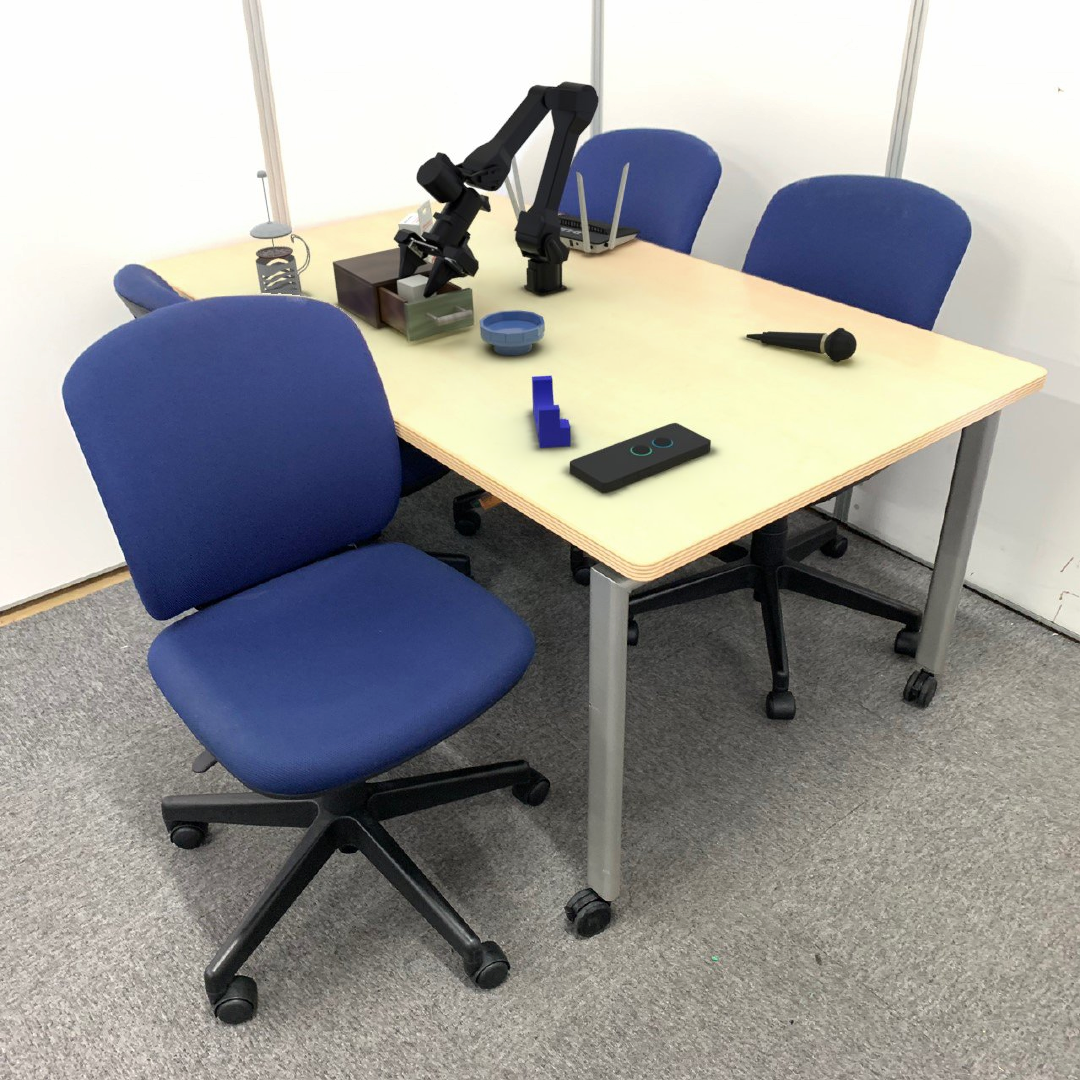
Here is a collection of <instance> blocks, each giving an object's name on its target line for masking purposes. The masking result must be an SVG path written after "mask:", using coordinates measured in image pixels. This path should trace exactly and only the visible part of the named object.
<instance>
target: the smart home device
mask: <svg viewBox="0 0 1080 1080" xmlns="http://www.w3.org/2000/svg"><path fill="white" fill-rule="evenodd" d="M711 446H712V440H711V439H709V438H707V437H705V436H703V435H702V434H699V433H697V432H696V431H694V430H692V429H690V428H688V427H686V426H684V425H682V424H680V423H678V422H672V423H668V424H666V425H663V426H660V427H657V428H654V429H652V430H650V431H647V432H644V433H641V434H638V435H636V436H633V437H631V438H628V439H625V440H622V441H619V442H617V443H614V444H612V445H609V446H607V447H604V448H600V449H599V450H596V451H593V452H590V453H588V454H585V455H582V456H579V457H576V458H573V459H572V460H570V461H569V474H571V475H573V476H574V477H576V478H578V479H579V480H581V481H582V482H584V483H586V484H587V485H589V486H590V487H592V488H593V489H595V490H597V491H598V492H600V493H601V494H606V493H610V492H613V491H615V490H619V489H621V488H623V487H626V486H628V485H630V484H634V483H635V482H638V481H641V480H643V479H645V478H646V479H647V478H649V477H651V476H653V475H656V474H659V473H662V472H663V471H666V470H668V469H671V468H673V467H676V466H678V465H681V464H684V463H686V462H688V461H691V460H693V459H695V458H699V457H701V456H704V455H706V454H708V453H709V452H711Z"/></svg>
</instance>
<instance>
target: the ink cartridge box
mask: <svg viewBox="0 0 1080 1080" xmlns="http://www.w3.org/2000/svg"><path fill="white" fill-rule="evenodd" d="M424 210H426V211H425V212H424ZM416 211H417V212H410V213H409V214H408V215H406V217H404V218H403V219H402V220H401V221H400V222H398V223H397V226H398V230H401V229H407V230H410V231H413V232H415V233H417V234H418V235H419V236H420V237H421V238H422V239H423V240H424V241H426V240H425V239H424V238H423V237H422V236H421V235H422V234H423V232H424V231H425V232H428V233H429V232H430V230H431V228H432V226H433V225H434V220H433V218H434V217H433V212H432V206H431V201H430V199H429V198H428V199H427V200H426V201H424V202H423V203H422V204H421V205H420V206H419V207H417V209H416ZM435 258H436V257H435V256H432V255H428V257H427V258H425V259H424V260H426V261H428V262H430V263H432V264H434V261H435Z"/></svg>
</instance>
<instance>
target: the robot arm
mask: <svg viewBox="0 0 1080 1080" xmlns="http://www.w3.org/2000/svg"><path fill="white" fill-rule="evenodd" d="M599 97H600V96H598V93H597V90H596V88H595V87H594V86H593V85H591V84H586V83H580V82H573V81H572V82H571V81H562V82H561V83H559V84H558V85H556V86H554V85H553V86H552V85H540V84H535V85H533V86H530V87H529V90H528V91H527V94H526V96H525V97H524V99H523V100H522V101H521V102H520V104H519V105H518V106H517V107H516V109H515V110H514V111H513V112H512V113H511V115H510V116H509V117H508V118H507V120H506V121H505V122H504V124H503V125H502V126H501V127H500V129H499V130H498V131H497V132H496V133H495V135H494V136H493V137H492V138H491V139H490V140H489V141H487V142H485V143H483V144H481V145H480V146H477V147H476V148H474V149H473V151H472V152H470V153H469V154H468V155H467V156H466V157H465V158H464V160H463V161H462V162H459V163H457V164H455V163H454V162H453V161H452V160H451V158H450V157H449V156H448V155H447V154H446V153H444V152H440V151H437V152H436V154H435V156H434V157H431V158H429V159H428V160H427V161H425V162H424V163H423V164H421V165H420V167H419V168H418V169H417V173H416V179H415V180H416V182H417V184H419V186H420V187H421V188H423V189H424V190H425V192H426V193H428V194H429V195H430V196H431V197H432V198H433V199H434V200H435V201H436V202H437V203H439V204H445V205H444V206H443V208H442V209H441V211H440V212H438V211H435V212H434V213H433V214H432V218H434V220H435V221H434V222H433V226H432V228H431V230H430V232H429V233H428V232H425V231H424V232H423V234H422V235H421V236H422V237H423V238H424V239H425V240H426V241H424V240H423V239H422V238H421V237H420V236H419V235H418V234H417V233H415V232H413V231H410V230H407V229H401V230H399V229H397V231H396V234H395V235H394V237H393V241H394V242H396V243H397V248H400V265H399V277H398V280H401V279H405V278H408V277H412V276H413V274H414V273H415V271H416V270H417V268H418V267H419V266H422V265H425V264H427V262H425V261H424V260H423V259H425V258H427V257H428V255H432V256H435V257H436V258H435V261H434V264H433V267H432V270H431V272H430V275H429V278H428V281H427V284H426V286H425V290H424V294H423V296H424V297H425V298H429V297H431V296H432V295H433V294H434V293H435V292H436V291H438V290H439V289H440V288H441V287H442V286H443V285H445V284H446V283H447V282H448V281H449V282H451V281H452V280H453V279H458V278H461V279H464V278H467V277H468V276H469V277H472V278H475V276H476V274H477V272H478V271H479V270H480V264H479V260H477V258H476V257H475V254H474V252H473V251H472V249H471V248H470V247H469V245H468V244H469V241H470V239H471V232H469V229H470V227H471V225H472V224H473V222H474V220H476V219H475V218H476V217H477V215H478V214H479V212H480V211H483V212H487V213H491V212H492V209H491V208H492V207H491V204H490V197H489V196H488V195H484V194H480V193H479V192H478V191H477V189H479V190H482V191H486V192H498V190H499V189H500V188H501V187H502V186H503V185H504V184H505V182H504V181H505V179H506V178H507V176H508V177H509V174H510V172H511V170H512V159H513V157H514V156H515V157H516V154H518V152H519V151H520V149H521V148H522V147H523V145H524V144H525V143H526V142H527V140H528V139H529V138H530V137H531V136H532V134H533V133H534V132H535V130H537V128H538V126H539V125H540V124H541V123H542V122H543V120H544V119H545V118H546V116H548V114H549V113H550V114H551V119H552V124H553V132H552V135H551V139H550V143H549V145H548V151H547V154H546V157H545V161H544V163H543V168H542V172H541V175H540V179H539V183H538V186H537V190H536V194H535V197H534V201H533V203H532V205H531V206H530V208H528V210H527V211H521V212H520V213H519V218H518V222H517V224H516V226H515V228H514V229H513V232H515V237H514V241H515V243H516V244H517V247H518V248H519V251H520V253H521V255H522V257H523V258H527V267H526V271H525V272H526V284H524V285H523V288H524V289H526V290H528V291H530V292H532V293H534V294H537V295H539V296H546V295H551V294H555V293H558V292H562V291H566V290H568V287H567V285H565V284H563V264H564V262H567V261H569V257H570V256H569V255H570V251H571V250H570V249H569V247H566V246H565V245H564V244H563V243H562V241H561V240H560V239H559V237H560V231H561V225H560V220H559V215H560V214H559V209H560V206H561V202H562V198H563V195H564V192H565V187H566V184H567V181H568V177H569V173H570V169H571V167H572V163H573V158H574V156H575V152H576V149H577V145H578V142H579V138H580V136H581V135H582V134H583V133H584V131H585V130H586V129H588V127H589V126H590V125H591V123H592V122H593V119H594V117H595V114H596V112H597V110H598V107H599V101H600V99H599Z"/></svg>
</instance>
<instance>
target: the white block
mask: <svg viewBox="0 0 1080 1080" xmlns="http://www.w3.org/2000/svg"><path fill="white" fill-rule="evenodd" d="M427 281H428V278H427V277H425V276H422V275H415V276H412V277H408V278H405V279H401V280H398V281H397V287H398V296H400V297H402V298H404V299H405V300H407V301H408V302H412V301H416V300H421V299H425V297H424V296H423V294H424V290H425V286H426V284H427ZM433 296H436V292H435V293H434V294H433V295H432V296H431V297H433Z"/></svg>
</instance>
